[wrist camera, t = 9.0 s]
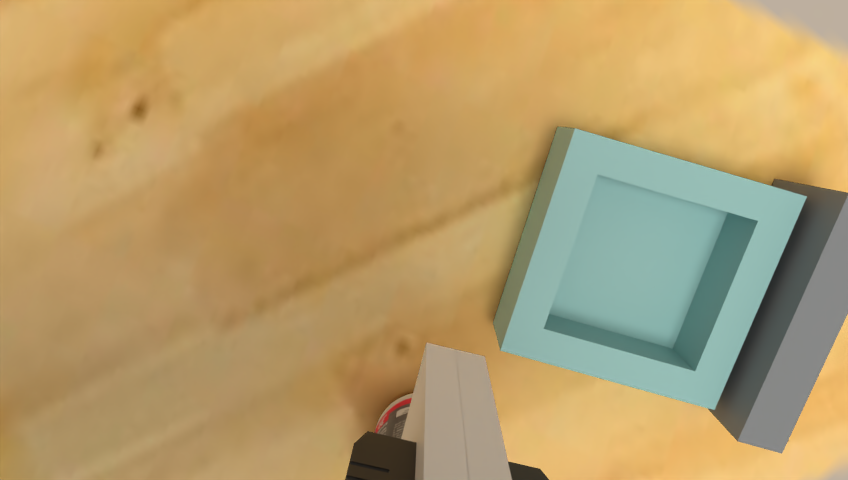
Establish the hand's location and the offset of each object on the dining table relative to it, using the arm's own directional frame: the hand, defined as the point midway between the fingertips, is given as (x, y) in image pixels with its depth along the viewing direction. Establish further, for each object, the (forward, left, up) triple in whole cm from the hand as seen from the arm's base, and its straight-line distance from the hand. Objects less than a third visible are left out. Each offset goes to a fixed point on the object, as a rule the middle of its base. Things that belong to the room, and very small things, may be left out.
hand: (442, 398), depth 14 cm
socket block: (+8, +3, -14) cm, 17 cm away
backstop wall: (+15, +3, -14) cm, 21 cm away
